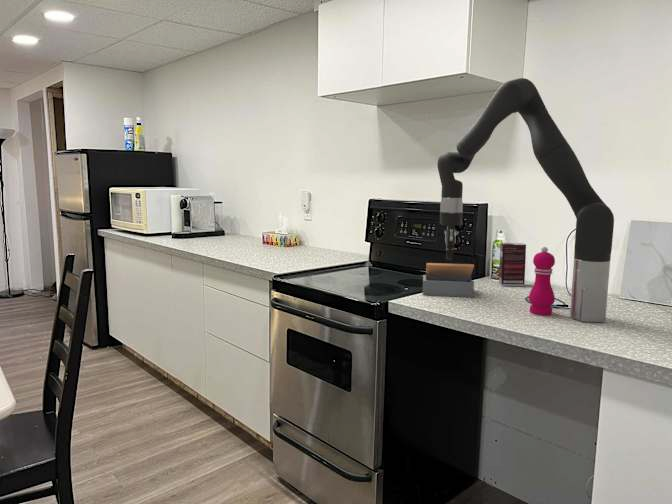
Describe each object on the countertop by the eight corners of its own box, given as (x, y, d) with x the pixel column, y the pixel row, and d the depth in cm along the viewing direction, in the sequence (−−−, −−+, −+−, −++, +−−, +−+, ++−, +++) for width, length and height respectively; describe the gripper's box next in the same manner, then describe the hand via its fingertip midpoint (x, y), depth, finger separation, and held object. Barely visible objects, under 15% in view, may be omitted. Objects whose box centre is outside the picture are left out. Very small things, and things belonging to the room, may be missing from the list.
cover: (474, 266, 172) (473, 264, 173) (426, 265, 175) (426, 262, 175) (470, 276, 182) (470, 273, 183) (425, 274, 185) (425, 272, 185)
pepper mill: (538, 316, 147) (542, 249, 145) (522, 310, 154) (526, 245, 151) (559, 315, 149) (563, 248, 146) (543, 309, 156) (547, 245, 153)
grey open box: (473, 296, 172) (473, 282, 171) (422, 295, 175) (423, 280, 174) (470, 290, 183) (470, 276, 182) (422, 288, 185) (423, 274, 185)
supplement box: (521, 284, 193) (523, 242, 191) (524, 286, 188) (526, 244, 186) (497, 283, 194) (499, 242, 192) (500, 286, 189) (502, 244, 187)
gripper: (439, 209, 181) (438, 257, 184) (440, 211, 168) (439, 263, 171) (461, 209, 180) (459, 257, 183) (464, 212, 167) (461, 263, 170)
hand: (449, 260), depth 177 cm, fingers closed
